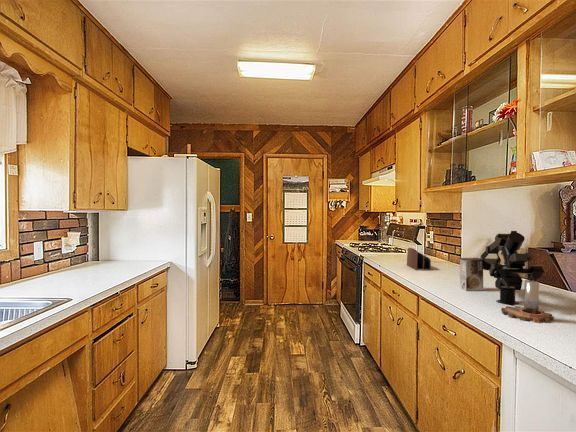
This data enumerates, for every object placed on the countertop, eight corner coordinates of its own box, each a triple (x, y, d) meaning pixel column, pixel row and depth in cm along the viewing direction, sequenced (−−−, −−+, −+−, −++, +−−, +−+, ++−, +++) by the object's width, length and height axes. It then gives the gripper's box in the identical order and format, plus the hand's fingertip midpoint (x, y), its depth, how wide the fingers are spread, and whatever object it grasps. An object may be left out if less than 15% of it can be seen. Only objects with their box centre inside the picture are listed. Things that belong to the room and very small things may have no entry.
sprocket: (513, 306, 142) (514, 300, 142) (561, 317, 128) (561, 310, 128) (493, 313, 133) (493, 306, 133) (541, 325, 119) (541, 318, 119)
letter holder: (416, 270, 226) (416, 250, 225) (406, 265, 245) (406, 246, 245) (431, 270, 225) (431, 250, 225) (420, 265, 245) (420, 246, 245)
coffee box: (476, 287, 176) (476, 257, 175) (483, 290, 169) (483, 259, 169) (459, 288, 176) (459, 257, 175) (465, 291, 169) (465, 259, 169)
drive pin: (522, 313, 130) (523, 279, 129) (536, 314, 128) (536, 280, 128) (526, 316, 126) (526, 282, 125) (540, 317, 124) (540, 283, 124)
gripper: (491, 245, 142) (500, 276, 131) (542, 246, 137) (556, 278, 126) (485, 260, 149) (493, 291, 139) (533, 262, 145) (545, 293, 134)
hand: (521, 288), depth 134 cm, fingers open, 9 cm apart
